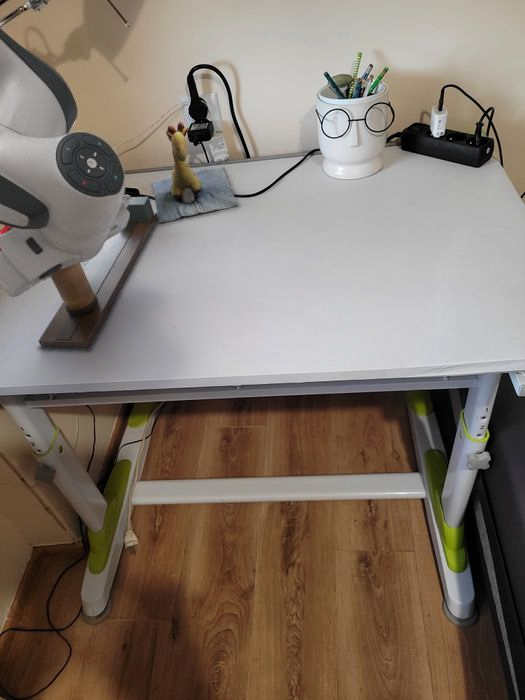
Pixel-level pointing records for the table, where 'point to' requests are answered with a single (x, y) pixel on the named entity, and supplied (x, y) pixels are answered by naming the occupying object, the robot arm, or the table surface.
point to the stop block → (140, 209)
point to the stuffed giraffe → (190, 185)
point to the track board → (99, 287)
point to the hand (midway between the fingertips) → (60, 264)
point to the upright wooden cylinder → (75, 290)
